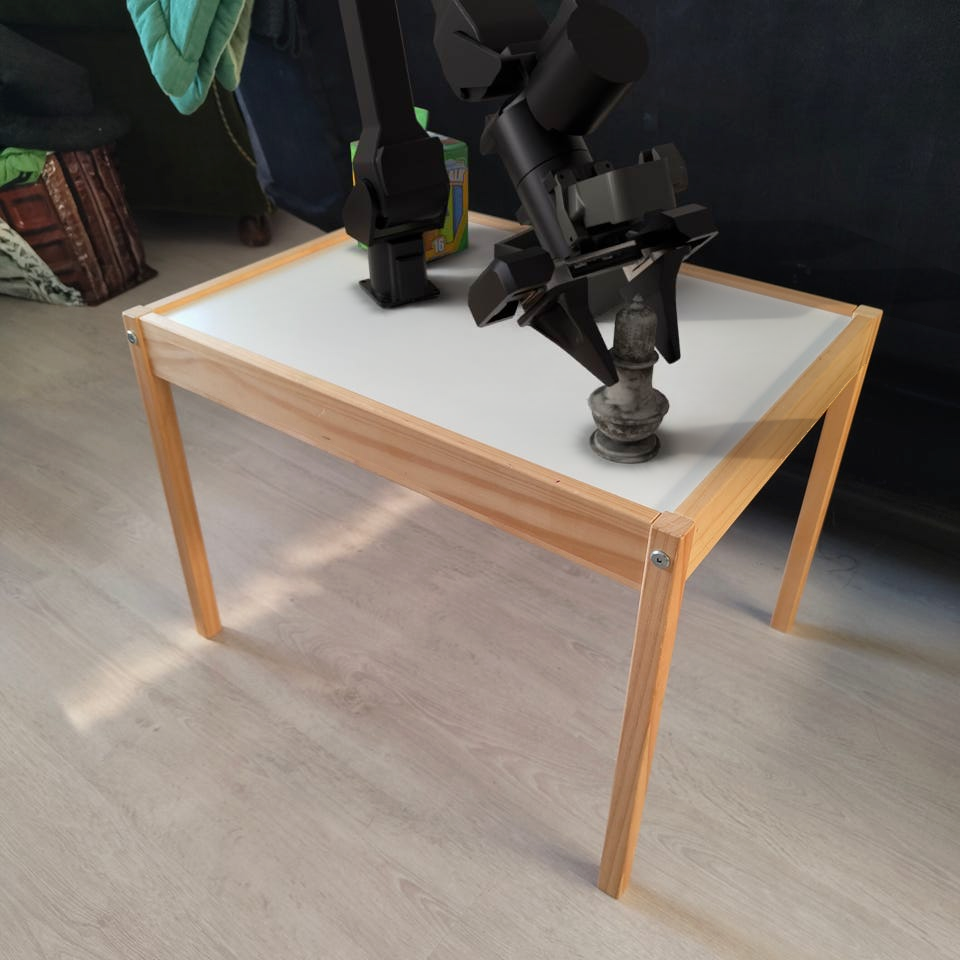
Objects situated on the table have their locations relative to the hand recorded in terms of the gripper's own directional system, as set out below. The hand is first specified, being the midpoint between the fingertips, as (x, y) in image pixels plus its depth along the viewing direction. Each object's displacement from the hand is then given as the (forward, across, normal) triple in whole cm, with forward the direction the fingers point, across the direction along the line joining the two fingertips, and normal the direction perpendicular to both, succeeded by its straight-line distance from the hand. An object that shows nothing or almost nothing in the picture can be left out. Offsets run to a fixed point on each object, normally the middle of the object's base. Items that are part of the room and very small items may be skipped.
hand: (645, 373), depth 62 cm
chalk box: (-27, +7, +36) cm, 46 cm away
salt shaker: (+4, 0, +6) cm, 7 cm away
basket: (-14, +14, +23) cm, 30 cm away
